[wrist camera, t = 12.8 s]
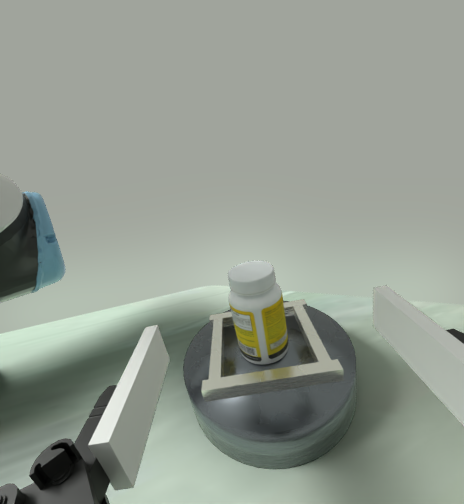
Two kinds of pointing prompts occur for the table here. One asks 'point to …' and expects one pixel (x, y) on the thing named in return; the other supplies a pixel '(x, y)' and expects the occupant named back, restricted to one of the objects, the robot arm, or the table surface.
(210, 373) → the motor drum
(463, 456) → the table surface
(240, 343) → the supplement bottle
